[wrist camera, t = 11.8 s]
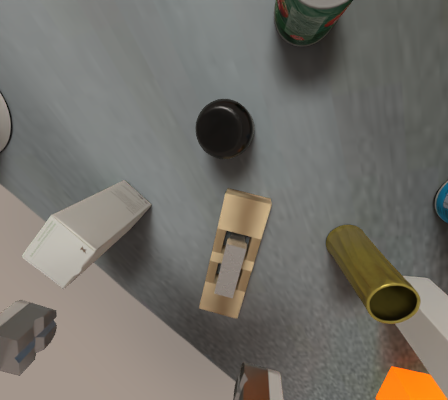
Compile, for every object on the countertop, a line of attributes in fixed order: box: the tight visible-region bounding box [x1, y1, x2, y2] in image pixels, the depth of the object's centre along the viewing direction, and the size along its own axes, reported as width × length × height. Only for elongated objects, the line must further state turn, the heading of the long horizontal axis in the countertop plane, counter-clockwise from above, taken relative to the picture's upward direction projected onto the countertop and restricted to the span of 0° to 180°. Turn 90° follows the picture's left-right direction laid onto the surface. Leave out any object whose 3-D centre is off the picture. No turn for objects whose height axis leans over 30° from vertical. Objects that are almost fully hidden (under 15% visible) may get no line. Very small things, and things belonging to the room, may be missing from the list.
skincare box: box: [22, 180, 151, 289], centre depth 35 cm, size 8×7×16 cm
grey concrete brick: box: [214, 232, 247, 298], centre depth 39 cm, size 3×9×6 cm, turn 168°
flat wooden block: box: [199, 188, 272, 319], centre depth 40 cm, size 7×22×3 cm, turn 168°
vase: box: [326, 225, 421, 324], centre depth 32 cm, size 6×6×14 cm
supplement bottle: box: [196, 99, 254, 159], centre depth 30 cm, size 7×7×12 cm
